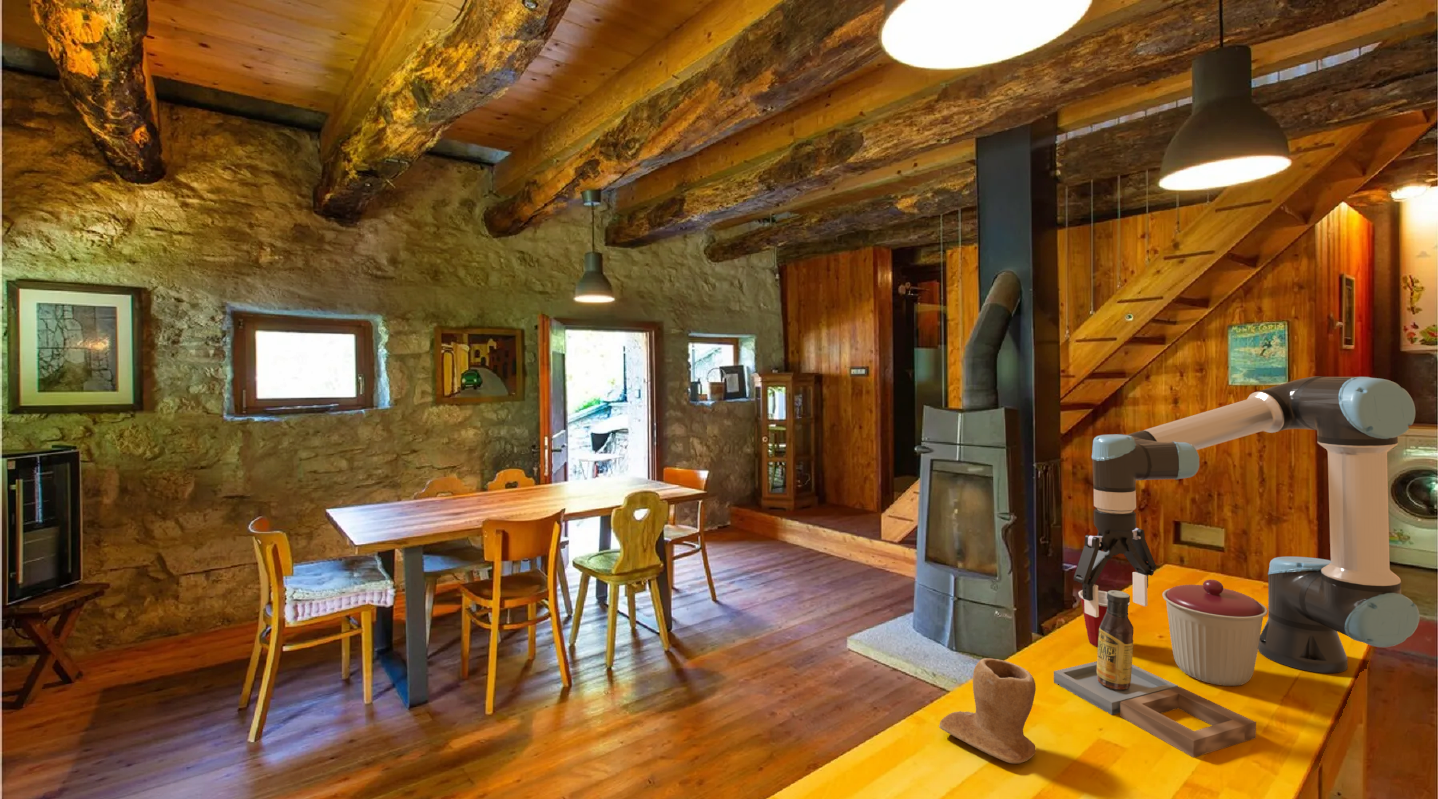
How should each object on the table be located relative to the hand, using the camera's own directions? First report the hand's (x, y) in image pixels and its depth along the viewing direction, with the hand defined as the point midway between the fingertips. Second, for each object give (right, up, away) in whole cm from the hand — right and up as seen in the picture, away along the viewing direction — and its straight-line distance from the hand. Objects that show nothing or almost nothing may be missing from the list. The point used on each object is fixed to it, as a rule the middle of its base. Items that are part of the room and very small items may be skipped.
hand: (1116, 609), depth 134 cm
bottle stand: (+5, -18, -13) cm, 23 cm away
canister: (+25, -17, +6) cm, 30 cm away
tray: (0, -17, +1) cm, 17 cm away
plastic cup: (+11, -16, +22) cm, 30 cm away
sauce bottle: (0, -16, +1) cm, 16 cm away
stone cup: (-33, -19, -16) cm, 42 cm away
